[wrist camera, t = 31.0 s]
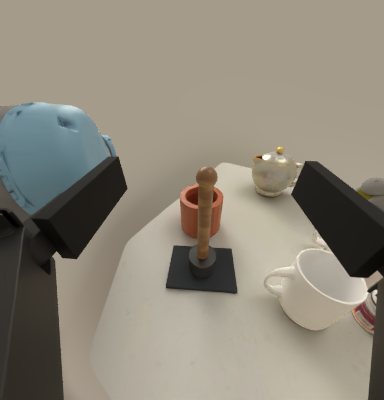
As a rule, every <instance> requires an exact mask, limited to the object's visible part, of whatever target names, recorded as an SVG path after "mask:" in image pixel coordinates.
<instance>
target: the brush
mask: <svg viewBox="0 0 384 400" xmlns="http://www.w3.org/2000/svg"><path fill="white" fill-rule="evenodd" d="M196 180H197V183H198V184H199V189H198V238H197V245H196V246H194V247H193V248H192V249H191V250H190V252H189V269H190V271H191V273H192V274H193V275H194V276H195V277H198V278H207V277H209V276H211V275H212V274H213V272H214V270H215V263H216V253H215V251H214V249H213V248H212V247H210V246H209V237H210V225H211V213H212V202H213V190H214V185H215V183H216V182H217V173H216V171H215V170H214V169H213V168H211V167H207V166H206V167H202V168H200V169H199V170H198V172H197V174H196Z"/></svg>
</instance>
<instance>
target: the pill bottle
mask: <svg viewBox="0 0 384 400" xmlns="http://www.w3.org/2000/svg"><path fill="white" fill-rule="evenodd" d="M376 294H377V290H374V291H372V292H371V293H370V294H369V295H368V296H367V298H366V300H365V301H364V302H363V303H361V304H360V305H359V306H357V307H356V308H354V309H353V310H352V313H353V316H354V318H355V319H356V321H357V322H358V323H359V324H360V325H361V326H362V327H363V328H364V329H365V330H367V331H368V332H370V333H372V334H374V324H375V312H376V300H377V297H376V296H375V295H376Z"/></svg>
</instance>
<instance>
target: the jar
mask: <svg viewBox="0 0 384 400" xmlns="http://www.w3.org/2000/svg"><path fill="white" fill-rule="evenodd" d="M198 189H199V184H197V185H192V186H189V187H187V188H185V189H184V190H183V191H182V192H181V194H180V206H181V222H182V228H183V230H184V232H185V233H186V234H188V235H189V236H191V237H194V238H198ZM222 204H223V194H222V192H221V191H220V190H219V189H217V188H215V187H214V190H213V202H212V213H211V225H210V237H211V236H213V235H215V234H216V233H217V231H218V230H219V226H220V219H221V211H222Z"/></svg>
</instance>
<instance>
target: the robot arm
mask: <svg viewBox="0 0 384 400" xmlns="http://www.w3.org/2000/svg"><path fill="white" fill-rule="evenodd" d="M126 190H127V185H126V182H125V178H124V175H123V171H122V168H121V164H120V160H119V157H117V156H116V153H115V149H114V146H113V144H112V142H111V139H110V137H109V136H107V135H101V134H100V133H99V132H98V129H97V127H96V125H95V123H94V122H93V120H92V119H91V118H90V117H89V116H88V115H87V114H86V113H85V112H83V111H82V110H80V109H78V108H76V107H74V106H70V105H53V104H49V103H41V102H32V103H26V104H21V105H16V106H0V400H64V396H63V380H62V364H61V349H60V334H59V333H60V332H59V316H58V302H57V301H58V300H57V285H56V269H55V260H54V258H53V257H52V256H53V255H54V253H55V252H56V251H57V252H58V253H59V254H60V255H61V257H62V258H70V259H77V258H78V257H79V255H80V254H81V252H82V251H83V250H84V248H85V247H86V246H87V244H88V243H89V241H90V240H91V239H92V237H93V236H94V234H95V233H96V231H97V230H98V229H99V227H100V226H101V225H102V223H103V222H104V220H105V219H106V218H107V216H108V215H109V213H110V212H111V211H112V209H113V208H114V207H115V205H116V204H117V202H118V201H119V200H120V198H121V197H122V196H123V194H124V193H125V191H126ZM291 195H292V196H293V198H294V199H295V201H296V202H297V203H298V205H299V206H300V208H301V209H302V210H303V212H304V213H305V215H306V216H307V217H308V219H309V220H310V222H311V223H312V224H313V226H314V227H315V229H316V230H317V231H318V233H319V234H320V236H321V237H322V238H323V240H324V241H325V243H326V244H327V245H328V247H329V248H330V250H331V251H332V252H333V254H334V255H335V257H336V258H337V259H338V261H339V262H340V264H341V265H342V266H343V268H344V269H345V271H346V272H347V273H348V275H349V276H350V277H357V278H369V277H370V276H371V275H372V274H374V273H375V272H376V271H378V272H379V273H380V274H381V275H382V276H383V278H382V279H380V280H379V281H378V282H376V283H375V284H374V285H372V286H371V287H370V288H369V289H368V290H367V292H369V293H371V292H372V291H374V290H377V294H376V295H375V296H376V297H377V300H376V312H375V324H374V336H373V348H372V360H371V372H370V384H369V396H368V400H384V210H382V209H381V208H380V207H378V206H377V205H375V204H373V203H371V202H370V201H368V200H367V199H366V198H364V197H363V196H362V195H360V194H359V193H358V192H356V191H355V190H354V189H353V188H351V187H350V186H349V185H347V184H346V183H345V182H343V181H342V180H341V179H340V178H338V177H337V176H336V175H334V174H333V173H332V172H330V171H329V170H328V169H326V168H325V167H324V166H323V165H321V164H320V163H318V162H317V161H305V164H304V166H303V168H302V170H301V173H300V175H299V177H298V180H297V182H296V184H295V187H294V189H293V191H292V194H291Z"/></svg>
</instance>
